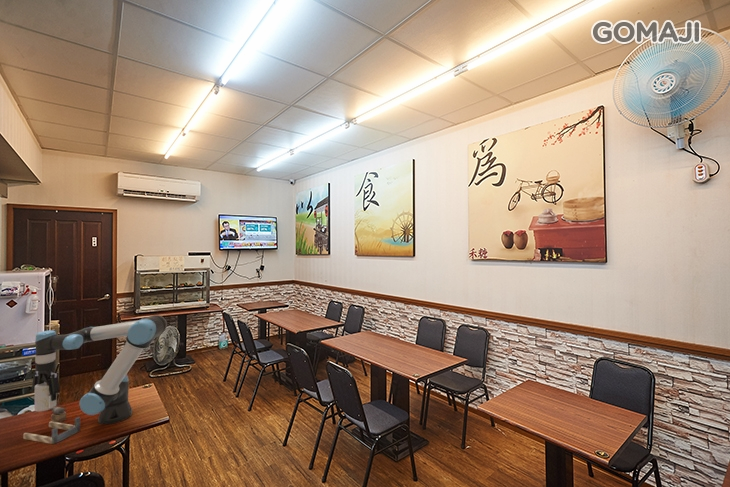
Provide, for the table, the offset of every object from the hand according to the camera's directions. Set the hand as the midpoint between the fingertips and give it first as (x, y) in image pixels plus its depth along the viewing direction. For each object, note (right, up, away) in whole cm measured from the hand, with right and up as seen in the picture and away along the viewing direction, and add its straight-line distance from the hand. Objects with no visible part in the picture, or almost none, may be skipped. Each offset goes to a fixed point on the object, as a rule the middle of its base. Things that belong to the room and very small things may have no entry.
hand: (45, 405), depth 170 cm
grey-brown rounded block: (-6, -14, +12) cm, 20 cm away
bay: (+5, -14, -1) cm, 15 cm away
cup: (0, -1, 0) cm, 1 cm away
